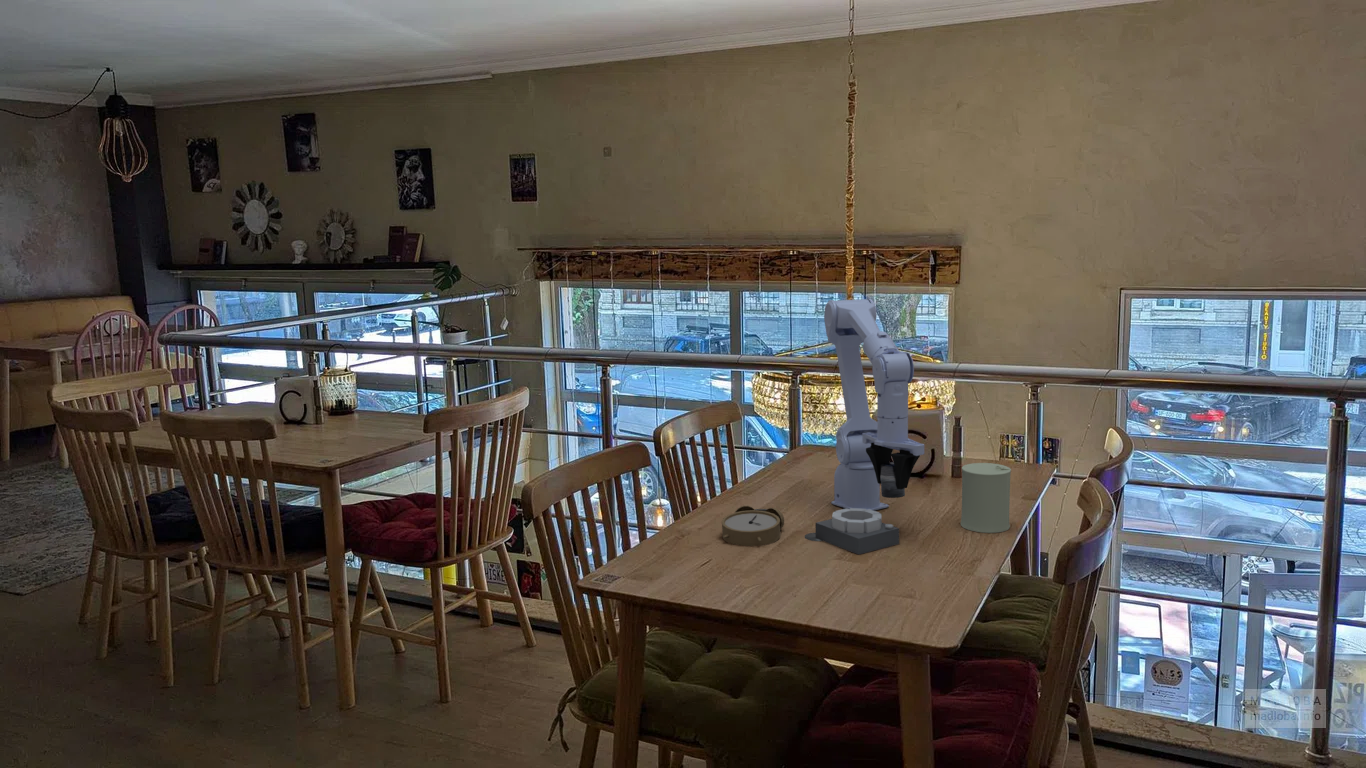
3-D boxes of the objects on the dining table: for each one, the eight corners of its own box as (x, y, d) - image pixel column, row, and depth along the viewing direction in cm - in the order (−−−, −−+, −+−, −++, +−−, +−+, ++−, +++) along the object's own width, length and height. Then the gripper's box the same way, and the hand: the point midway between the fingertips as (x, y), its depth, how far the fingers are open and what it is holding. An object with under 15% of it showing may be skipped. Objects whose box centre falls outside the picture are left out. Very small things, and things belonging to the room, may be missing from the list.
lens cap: (798, 539, 186) (799, 535, 186) (820, 534, 189) (820, 530, 189) (816, 546, 182) (816, 542, 182) (837, 541, 185) (837, 537, 184)
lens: (876, 495, 187) (874, 464, 187) (893, 491, 190) (891, 460, 189) (893, 499, 184) (892, 467, 183) (910, 495, 186) (909, 463, 185)
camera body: (815, 537, 185) (815, 512, 184) (855, 528, 190) (855, 503, 189) (858, 554, 175) (858, 527, 174) (899, 543, 180) (899, 517, 179)
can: (1012, 534, 184) (1014, 472, 182) (962, 532, 186) (963, 471, 184) (1006, 519, 193) (1008, 460, 191) (958, 518, 195) (959, 459, 193)
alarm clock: (712, 529, 183) (737, 495, 196) (714, 552, 184) (739, 517, 197) (769, 535, 179) (791, 499, 192) (771, 558, 180) (793, 522, 193)
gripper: (850, 413, 188) (850, 481, 190) (905, 424, 176) (904, 496, 178) (877, 408, 192) (877, 475, 194) (932, 419, 180) (931, 490, 182)
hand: (892, 485), depth 187 cm, fingers closed on lens, 5 cm apart
